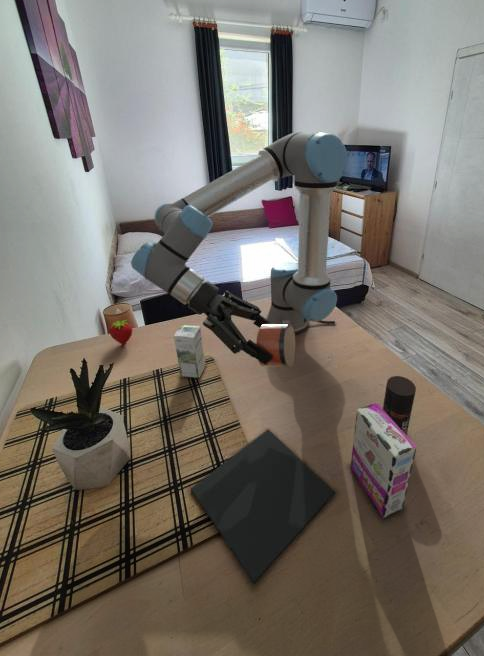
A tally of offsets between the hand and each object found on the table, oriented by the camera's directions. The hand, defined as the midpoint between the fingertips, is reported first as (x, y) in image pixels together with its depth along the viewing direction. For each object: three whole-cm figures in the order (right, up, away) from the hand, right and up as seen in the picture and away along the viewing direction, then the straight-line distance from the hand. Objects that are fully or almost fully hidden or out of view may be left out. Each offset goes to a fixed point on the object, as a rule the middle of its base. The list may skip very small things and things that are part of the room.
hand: (273, 346), depth 78 cm
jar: (+1, 0, 0) cm, 1 cm away
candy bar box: (+21, -25, -13) cm, 35 cm away
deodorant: (+28, -21, -2) cm, 35 cm away
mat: (-2, -25, -14) cm, 29 cm away
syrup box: (-24, -12, +18) cm, 33 cm away
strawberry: (-51, -6, +30) cm, 60 cm away
